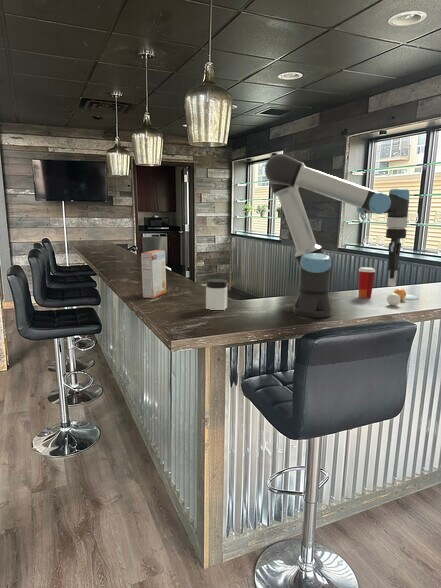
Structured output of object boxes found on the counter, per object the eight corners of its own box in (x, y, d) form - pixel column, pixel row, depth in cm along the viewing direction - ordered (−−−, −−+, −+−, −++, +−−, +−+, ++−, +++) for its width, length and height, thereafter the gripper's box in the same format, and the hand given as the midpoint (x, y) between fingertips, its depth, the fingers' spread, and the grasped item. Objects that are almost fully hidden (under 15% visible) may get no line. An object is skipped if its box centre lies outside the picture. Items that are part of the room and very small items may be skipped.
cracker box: (155, 292, 203) (154, 249, 199) (166, 293, 201) (166, 250, 197) (141, 297, 190) (140, 252, 186) (153, 298, 188) (152, 252, 184)
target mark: (384, 297, 198) (384, 297, 198) (390, 292, 209) (390, 292, 209) (416, 301, 190) (416, 300, 190) (420, 296, 202) (420, 295, 202)
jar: (224, 306, 176) (224, 278, 173) (229, 310, 168) (230, 281, 165) (203, 307, 173) (204, 279, 171) (208, 311, 166) (208, 282, 163)
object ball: (391, 300, 192) (392, 288, 191) (394, 298, 196) (395, 286, 195) (404, 301, 189) (405, 290, 188) (406, 299, 193) (407, 288, 192)
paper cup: (370, 295, 201) (373, 267, 199) (375, 299, 194) (377, 269, 191) (354, 295, 202) (356, 266, 199) (357, 298, 195) (360, 269, 192)
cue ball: (385, 305, 180) (386, 293, 179) (387, 303, 185) (388, 291, 184) (398, 307, 177) (399, 295, 176) (400, 305, 182) (402, 293, 181)
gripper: (403, 229, 159) (398, 289, 164) (409, 227, 170) (404, 284, 174) (383, 228, 163) (378, 287, 168) (390, 227, 174) (385, 282, 178)
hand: (391, 285), depth 171 cm, fingers closed
